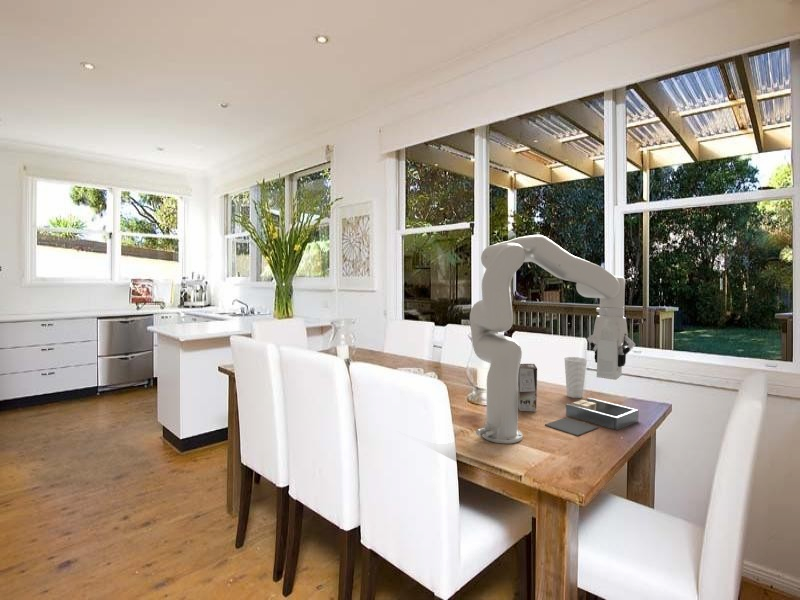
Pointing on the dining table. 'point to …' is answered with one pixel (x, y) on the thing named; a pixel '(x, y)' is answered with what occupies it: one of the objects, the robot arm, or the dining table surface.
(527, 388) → the coffee box
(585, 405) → the offcut
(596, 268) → the robot arm
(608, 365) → the small box
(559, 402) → the dining table surface
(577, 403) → the offcut
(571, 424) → the mat
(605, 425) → the grey tray
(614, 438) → the dining table surface
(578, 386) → the cup
